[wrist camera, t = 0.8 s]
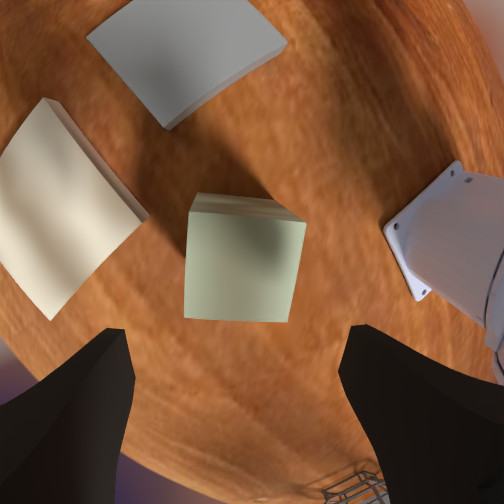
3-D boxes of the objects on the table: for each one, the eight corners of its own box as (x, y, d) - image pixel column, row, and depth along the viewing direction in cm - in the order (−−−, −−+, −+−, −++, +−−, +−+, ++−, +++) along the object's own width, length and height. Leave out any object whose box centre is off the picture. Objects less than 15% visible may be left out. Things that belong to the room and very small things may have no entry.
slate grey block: (201, -22, 11) (201, -38, 9) (279, 54, 13) (288, 42, 12) (97, 47, 12) (85, 37, 10) (169, 131, 14) (163, 127, 12)
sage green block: (274, 199, 16) (306, 222, 11) (263, 270, 18) (287, 322, 12) (197, 192, 16) (188, 211, 10) (191, 265, 17) (183, 317, 11)
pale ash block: (59, 101, 12) (43, 97, 10) (150, 215, 16) (142, 223, 14) (-14, 208, 13) (-30, 214, 11) (62, 306, 17) (50, 320, 15)
